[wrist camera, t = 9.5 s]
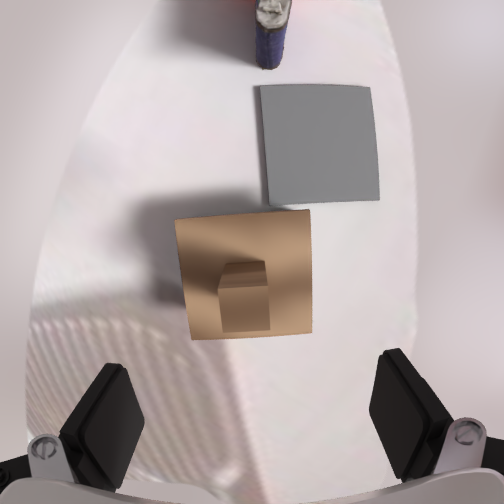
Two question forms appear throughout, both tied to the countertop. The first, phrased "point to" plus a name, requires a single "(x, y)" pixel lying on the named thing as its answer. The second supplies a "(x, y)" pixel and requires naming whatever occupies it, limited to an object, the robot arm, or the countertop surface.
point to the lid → (246, 274)
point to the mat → (319, 144)
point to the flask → (271, 31)
